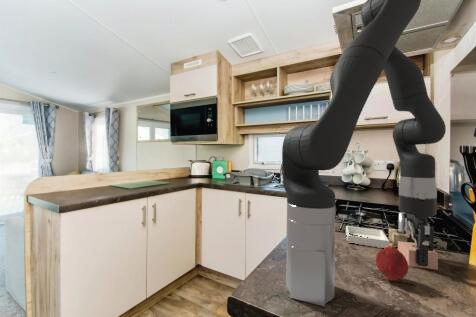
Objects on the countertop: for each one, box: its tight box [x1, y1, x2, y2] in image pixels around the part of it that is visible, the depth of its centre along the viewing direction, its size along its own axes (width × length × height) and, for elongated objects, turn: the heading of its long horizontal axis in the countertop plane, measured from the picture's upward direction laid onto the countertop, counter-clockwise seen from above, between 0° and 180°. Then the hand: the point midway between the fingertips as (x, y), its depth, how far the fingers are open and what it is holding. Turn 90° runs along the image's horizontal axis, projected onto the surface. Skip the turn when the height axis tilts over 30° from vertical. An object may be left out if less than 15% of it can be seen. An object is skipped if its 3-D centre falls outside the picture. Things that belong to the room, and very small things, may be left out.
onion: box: [375, 243, 409, 282], centre depth 47 cm, size 6×6×8 cm
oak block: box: [388, 228, 407, 247], centre depth 67 cm, size 6×6×4 cm
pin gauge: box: [398, 211, 404, 234], centre depth 67 cm, size 2×2×10 cm
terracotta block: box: [397, 241, 439, 270], centre depth 56 cm, size 6×6×4 cm
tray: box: [345, 225, 390, 249], centre depth 71 cm, size 11×11×2 cm
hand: (416, 258), depth 56 cm, fingers closed on terracotta block, 6 cm apart
